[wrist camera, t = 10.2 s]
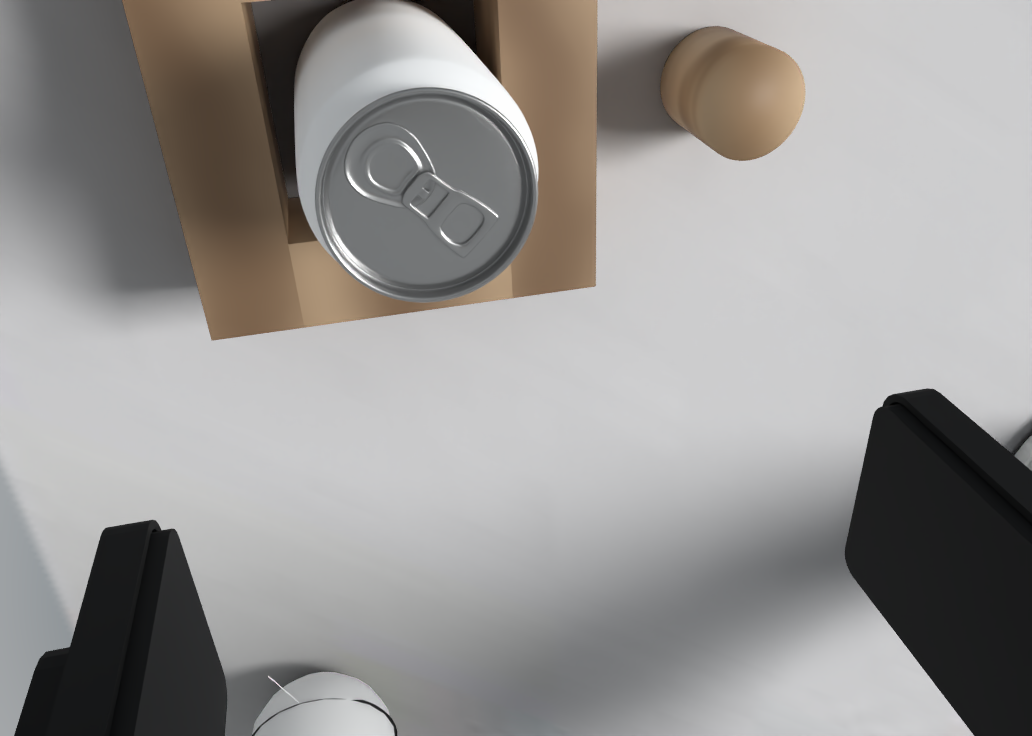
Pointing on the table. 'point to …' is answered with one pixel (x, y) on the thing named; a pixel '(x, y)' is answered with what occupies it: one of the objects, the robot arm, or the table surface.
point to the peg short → (733, 92)
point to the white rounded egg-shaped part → (325, 709)
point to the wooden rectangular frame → (281, 220)
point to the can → (410, 153)
